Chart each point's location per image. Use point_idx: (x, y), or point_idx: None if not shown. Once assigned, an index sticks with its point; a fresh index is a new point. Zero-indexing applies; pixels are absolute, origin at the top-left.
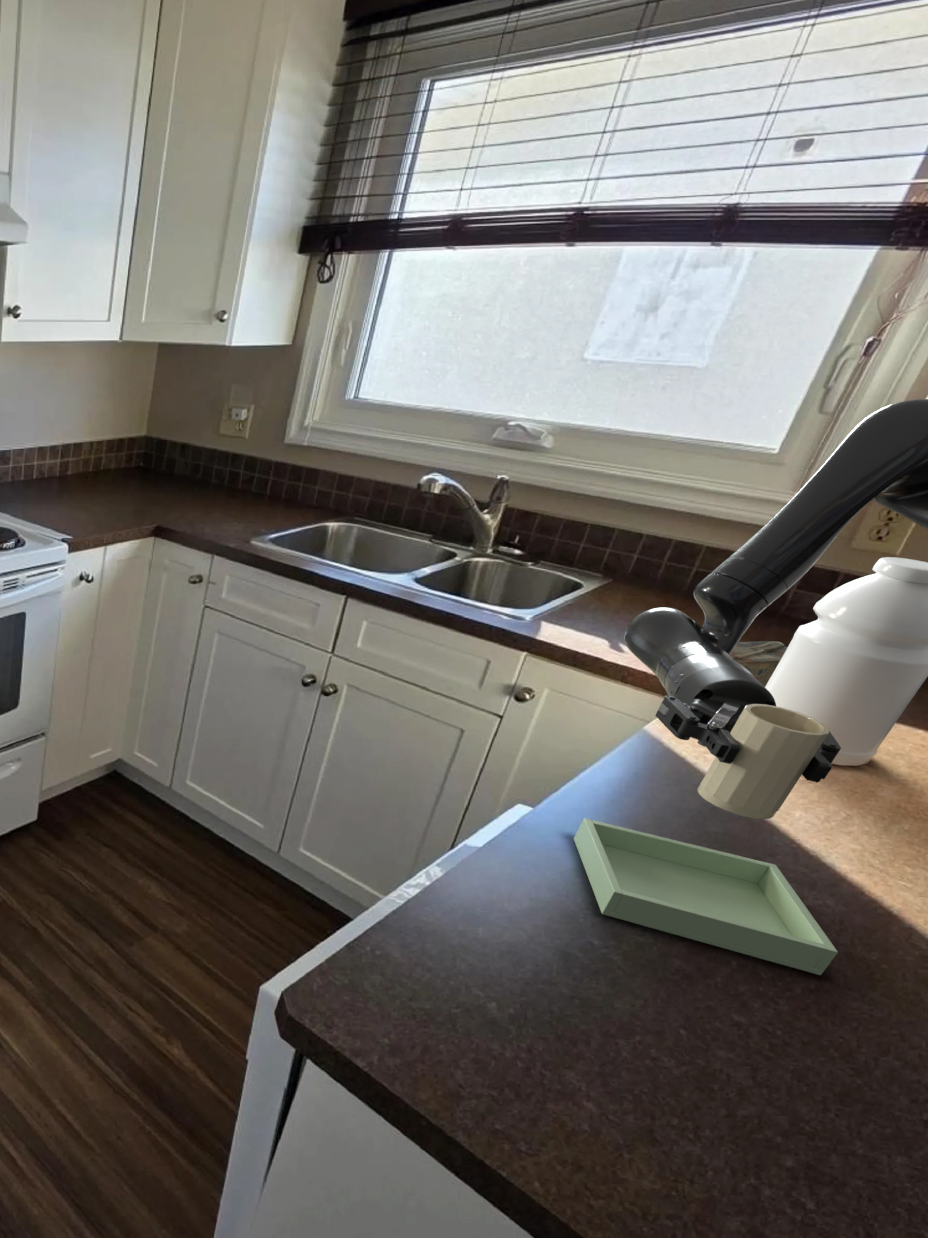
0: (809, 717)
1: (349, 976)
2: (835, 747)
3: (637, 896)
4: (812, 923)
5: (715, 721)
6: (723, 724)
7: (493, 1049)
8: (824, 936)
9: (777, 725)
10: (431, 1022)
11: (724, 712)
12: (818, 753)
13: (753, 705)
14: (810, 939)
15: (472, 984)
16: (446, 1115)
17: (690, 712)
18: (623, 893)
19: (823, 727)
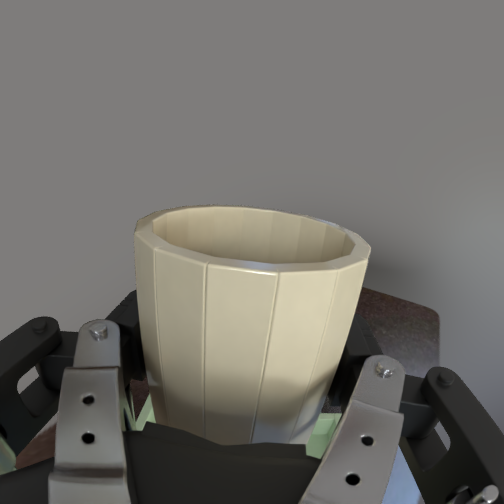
0: (146, 232)
1: (433, 325)
2: (46, 320)
3: (321, 414)
4: (141, 423)
5: (387, 390)
6: (363, 381)
7: (377, 314)
8: (145, 407)
9: (299, 215)
10: (400, 318)
11: (370, 444)
12: (133, 302)
13: (342, 260)
14: (151, 417)
15: (395, 338)
16: (381, 294)
17: (460, 414)
18: (333, 414)
19: (165, 213)
